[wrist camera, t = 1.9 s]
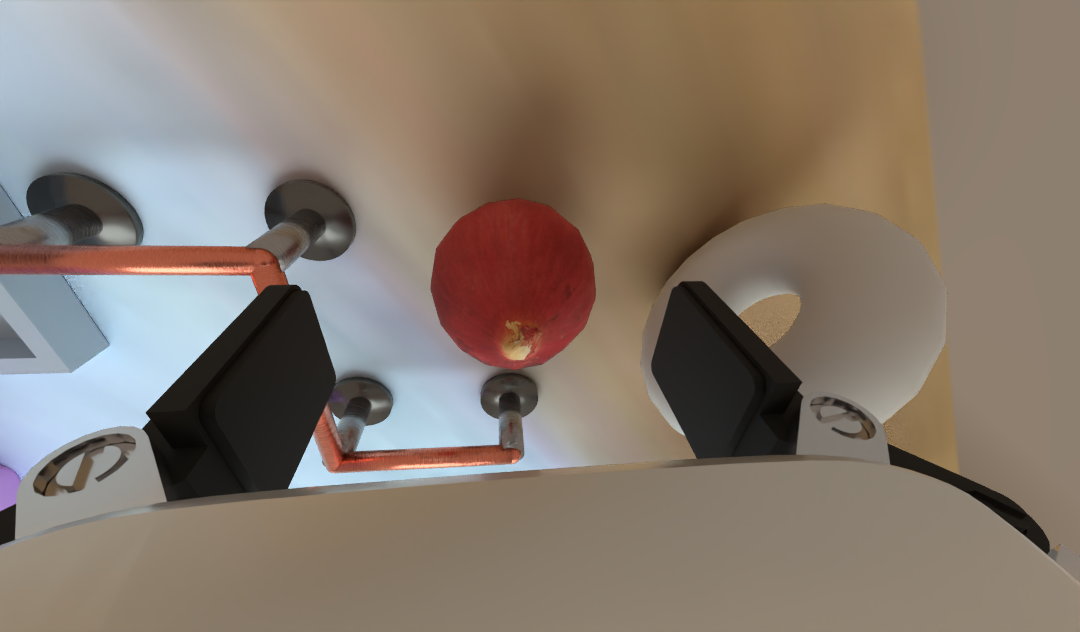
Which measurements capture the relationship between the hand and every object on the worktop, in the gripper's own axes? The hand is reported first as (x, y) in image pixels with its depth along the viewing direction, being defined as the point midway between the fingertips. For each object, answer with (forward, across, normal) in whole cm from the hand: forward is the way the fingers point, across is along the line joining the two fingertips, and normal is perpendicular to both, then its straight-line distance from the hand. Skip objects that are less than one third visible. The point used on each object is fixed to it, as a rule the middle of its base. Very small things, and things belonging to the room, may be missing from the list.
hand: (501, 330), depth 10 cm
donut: (+7, -10, +2) cm, 12 cm away
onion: (+8, -1, +1) cm, 8 cm away
